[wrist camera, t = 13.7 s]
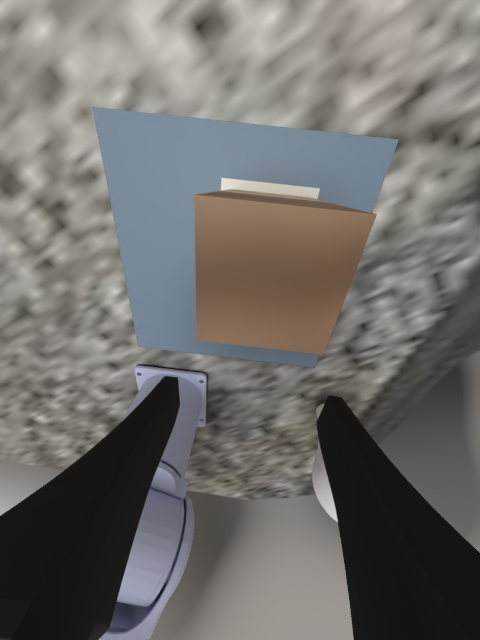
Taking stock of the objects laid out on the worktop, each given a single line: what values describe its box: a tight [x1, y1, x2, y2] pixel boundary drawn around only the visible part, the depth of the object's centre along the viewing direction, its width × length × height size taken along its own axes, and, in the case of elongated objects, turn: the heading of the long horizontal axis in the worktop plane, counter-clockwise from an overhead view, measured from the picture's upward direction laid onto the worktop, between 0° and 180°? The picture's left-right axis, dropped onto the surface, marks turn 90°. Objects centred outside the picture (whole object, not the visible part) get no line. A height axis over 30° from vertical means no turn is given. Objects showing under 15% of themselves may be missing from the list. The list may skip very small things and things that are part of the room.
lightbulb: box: [312, 403, 338, 522], centre depth 21 cm, size 6×6×11 cm
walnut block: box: [194, 191, 377, 355], centre depth 9 cm, size 5×5×5 cm
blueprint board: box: [93, 107, 399, 368], centre depth 18 cm, size 18×18×1 cm
